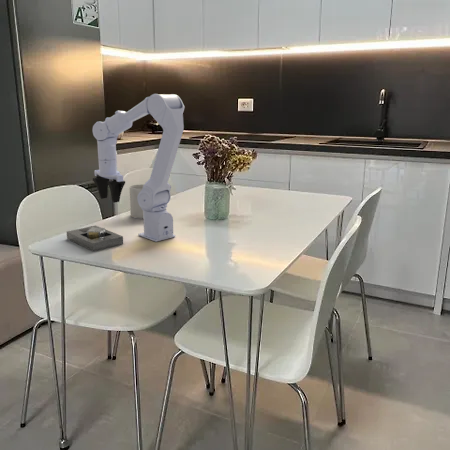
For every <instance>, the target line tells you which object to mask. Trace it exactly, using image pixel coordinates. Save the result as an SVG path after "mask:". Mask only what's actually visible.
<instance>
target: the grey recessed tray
mask: <svg viewBox="0 0 450 450" xmlns="http://www.w3.org/2000/svg"><path fill="white" fill-rule="evenodd" d="M92 227H95V228H102V227H100V226H98V225H92V226H86V227H82V228H77V229H72V230H67V231H66V239H67V240H68V241H70V242H73V243H75V244H77V245H79V246H81V247H82V248H83V247H84V248H86V249H87V250H89V251H92V252H97V251H100V250H105V249H108V248H113V247H116V246H120V245H124V236H123V235H121V234H117V233H115V232H113V231H111V230H108V229H106V228H105V237H101V238H96V239H92V240H91V239H89V238H88V236H87V231H88V230H89V229H91V228H92Z"/></svg>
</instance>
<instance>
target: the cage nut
mask: <svg viewBox="0 0 450 450" xmlns="http://www.w3.org/2000/svg"><path fill="white" fill-rule="evenodd" d="M105 229H106V228H105V227H101V228H95V227H92V228H91V229H89V230H88V231H87V236H88V238H89V239H91V240H92V239H96V238H101V237H105Z"/></svg>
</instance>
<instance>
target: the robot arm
mask: <svg viewBox="0 0 450 450" xmlns="http://www.w3.org/2000/svg"><path fill="white" fill-rule="evenodd" d="M185 108H186V107H185V105H184V103H183V100H182V99H181V97H180V96H179V95H177V94H174V93H171V94H165V93H163V94H158V93H153V94H151V95H150V96H147V97H145V98H144V99H143V100H142V101H141V102H139V103H138V104H136V105H135V106H133V107H132V108H131V109H128V111H125V110H116V111H115V112H114V114H113V115H112V116H110V117H106V118H105V120H103V121H96V122H95V123H94V124H93V125H92V135H93V137H94V138H95V139H96V143H97V159H98V169H95V170H94V171H93V172H94V176H95V177H93V178H92V182H94V185H96V188H97V191H98V195H99V197H100V199H101V200H103V199H107V198H108V193H109V189H110V194H111V200H112V203H120V199H121V196H122V195H121V194H122V191H123V189H124V187H125V185H126V181H125V180H124V175H123V174H121V172H120V171H118V165H117V164H118V162H117V146H116V145H117V142H118V137H119V136H120V134H121V133H124V132H125V131H127V130H129V129H130V128H132V126H133V123H134V122H135V121H137V120H139V119H142V118H143V117H145V116H147V115H150V116H152V117H153V119H154V120H155V121H156V122H157V124H158V125H159V126H160V127H161V128H162V131H163V132H162V134H161V135H162V136H161V137H160V142H159V146H158V148H157V149H158V150H157V153H156V156H155V160H154V163H153V166H152V170H151V174H150V177H149V179H148V180H147V181H146V182H145V183H144V184H142V185H143V188H142V190H141V191H140V192H139V194H138V197H137V200H138V204H139V206H140V207H141V208H142V210H143V218H142V219H143V232H140V233H138V236H139V237H142V238H145V239H148V240H151V241H153V242H160V241H163V240H167V239H168V240H169V239H171V238H176V234H174V218H173V216H172V214H171V213H170V212H169V211H168V210H167V208H168V204H170V201H171V197H172V196H171V195H172V194H171V190H172V186H171V184H170V183H169V179H170V176H171V174H172V173H171V172H172V169H173V166H174V162H175V161H176V160H175V159H176V156H177V153H178V149H179V147H180V143H181V140H182V137H183V132H184V128H185V125H184V114H183V113H184V111H185ZM108 188H109V189H108Z"/></svg>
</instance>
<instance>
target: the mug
mask: <svg viewBox="0 0 450 450" xmlns="http://www.w3.org/2000/svg"><path fill="white" fill-rule="evenodd" d="M143 185H144V184H134V185H133V184H132V185H130V186H129V203H130V204H129V205H130V207H129V209H130V216H131V218H134V219H143V210H142V208H141V207H140V206H139V204H138V200H137V197H138V194H139V192H140V191H141V190H142V188H143Z"/></svg>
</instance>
